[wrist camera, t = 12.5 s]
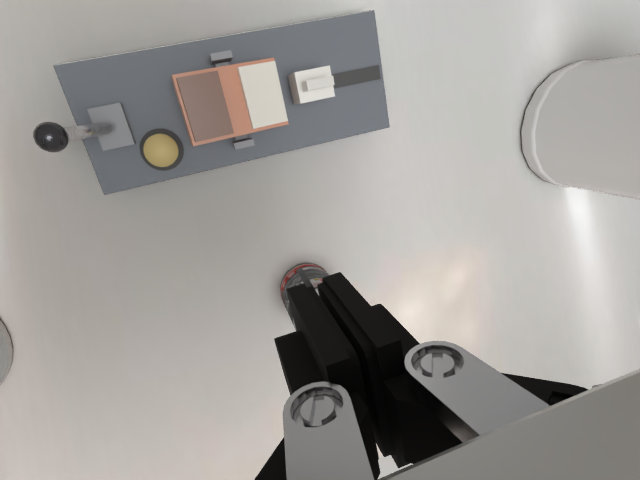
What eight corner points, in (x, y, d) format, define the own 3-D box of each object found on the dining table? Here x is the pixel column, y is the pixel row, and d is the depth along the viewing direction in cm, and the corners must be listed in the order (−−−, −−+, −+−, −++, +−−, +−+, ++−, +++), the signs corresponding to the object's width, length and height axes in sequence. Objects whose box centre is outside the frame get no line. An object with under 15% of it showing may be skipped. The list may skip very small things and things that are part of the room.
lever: (103, 141, 31) (34, 156, 24) (94, 117, 30) (20, 126, 23) (124, 136, 31) (60, 151, 24) (116, 112, 30) (47, 120, 23)
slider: (293, 104, 35) (305, 103, 31) (287, 75, 34) (298, 70, 30) (326, 97, 35) (341, 95, 31) (320, 68, 35) (335, 62, 31)
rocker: (191, 145, 32) (194, 146, 30) (170, 76, 30) (172, 73, 28) (284, 124, 34) (291, 124, 33) (270, 59, 32) (276, 56, 31)
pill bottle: (282, 261, 42) (304, 301, 33) (332, 262, 44) (367, 301, 35) (277, 310, 44) (297, 361, 35) (326, 310, 45) (357, 358, 36)
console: (111, 188, 36) (96, 200, 31) (65, 68, 32) (39, 58, 27) (376, 126, 41) (402, 127, 36) (361, 16, 37) (386, 0, 32)
